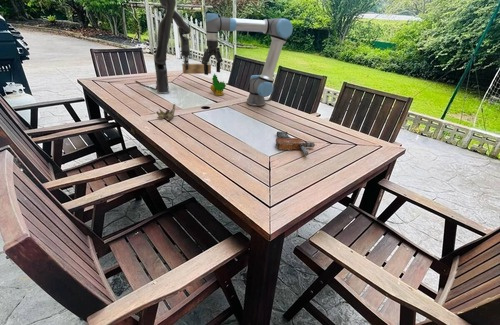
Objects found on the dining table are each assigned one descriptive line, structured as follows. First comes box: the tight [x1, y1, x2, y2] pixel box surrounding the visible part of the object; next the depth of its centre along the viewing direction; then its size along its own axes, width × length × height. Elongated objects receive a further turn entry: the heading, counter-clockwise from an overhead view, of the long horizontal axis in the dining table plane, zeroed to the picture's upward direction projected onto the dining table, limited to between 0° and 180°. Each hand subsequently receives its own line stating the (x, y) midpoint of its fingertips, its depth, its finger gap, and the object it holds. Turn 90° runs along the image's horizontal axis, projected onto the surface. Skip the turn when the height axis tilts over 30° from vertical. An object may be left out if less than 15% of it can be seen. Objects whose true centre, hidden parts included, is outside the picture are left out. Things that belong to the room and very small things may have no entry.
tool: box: [275, 131, 316, 157], centre depth 149 cm, size 4×27×30 cm
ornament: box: [209, 73, 227, 96], centre depth 234 cm, size 21×8×15 cm, turn 42°
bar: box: [181, 63, 212, 75], centre depth 250 cm, size 26×6×8 cm, turn 111°
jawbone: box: [156, 103, 176, 122], centre depth 174 cm, size 9×15×10 cm
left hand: (186, 69), depth 246 cm, fingers closed on bar, 5 cm apart
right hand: (212, 73), depth 183 cm, fingers open, 13 cm apart
